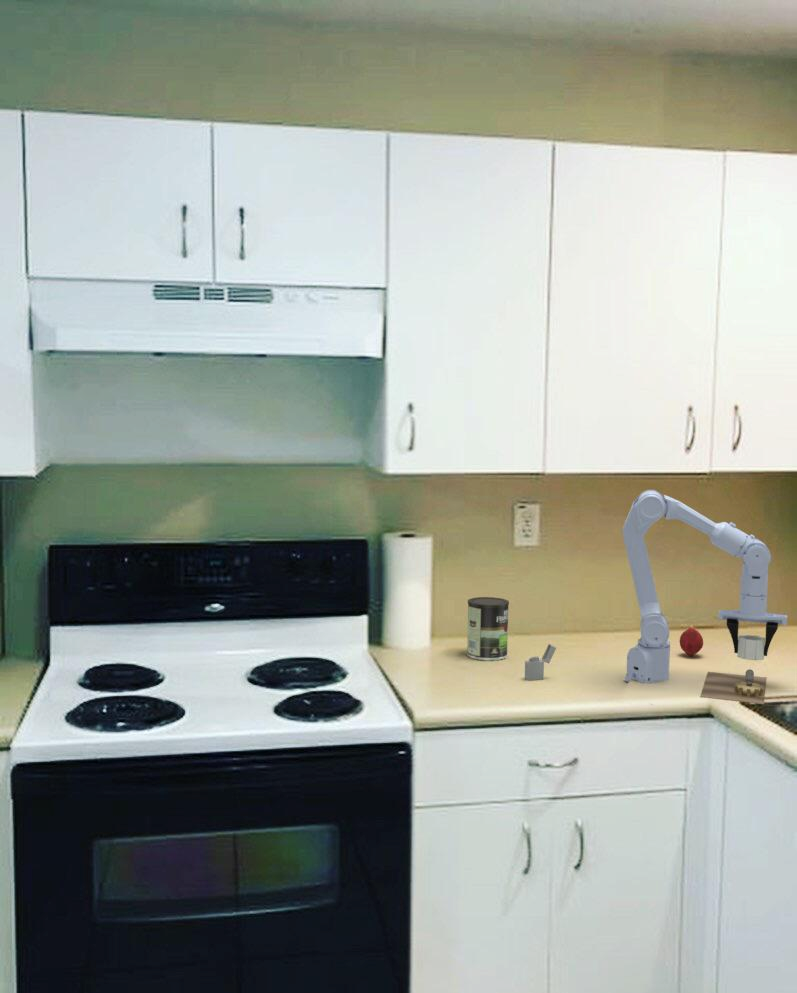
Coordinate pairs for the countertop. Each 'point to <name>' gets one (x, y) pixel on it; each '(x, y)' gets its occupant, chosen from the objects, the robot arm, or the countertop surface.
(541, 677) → the lighter
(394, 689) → the countertop surface
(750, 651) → the hollow cylinder
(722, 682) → the gear board
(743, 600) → the robot arm
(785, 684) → the countertop surface
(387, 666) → the countertop surface
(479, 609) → the coffee can
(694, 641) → the onion
